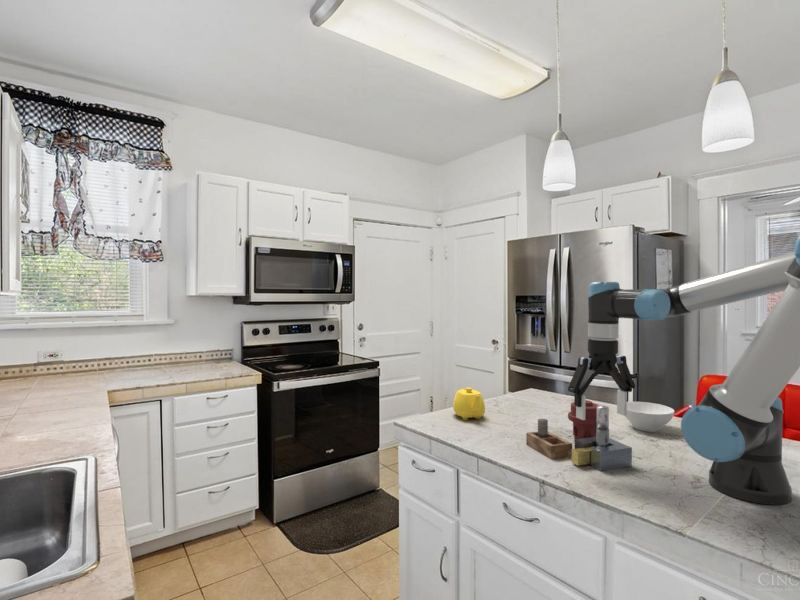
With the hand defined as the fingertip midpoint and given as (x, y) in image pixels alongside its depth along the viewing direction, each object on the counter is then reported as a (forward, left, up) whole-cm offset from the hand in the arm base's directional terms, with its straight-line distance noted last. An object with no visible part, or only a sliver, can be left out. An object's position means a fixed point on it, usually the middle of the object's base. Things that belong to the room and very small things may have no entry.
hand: (601, 416), depth 120 cm
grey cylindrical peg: (0, 0, -12) cm, 12 cm away
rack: (+12, +8, -12) cm, 19 cm away
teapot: (+49, +16, -13) cm, 53 cm away
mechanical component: (+15, -7, -13) cm, 20 cm away
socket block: (0, 0, -12) cm, 12 cm away
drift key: (0, +5, -12) cm, 13 cm away
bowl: (+19, -35, -13) cm, 42 cm away
